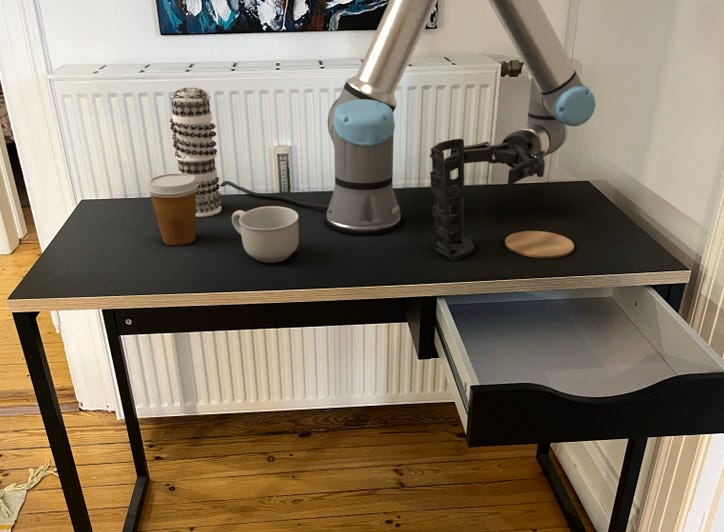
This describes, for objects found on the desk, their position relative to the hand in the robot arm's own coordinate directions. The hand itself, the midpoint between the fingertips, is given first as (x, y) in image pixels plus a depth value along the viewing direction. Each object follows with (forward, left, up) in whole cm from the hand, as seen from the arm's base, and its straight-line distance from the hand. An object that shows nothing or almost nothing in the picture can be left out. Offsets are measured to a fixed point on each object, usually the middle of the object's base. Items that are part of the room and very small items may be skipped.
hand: (477, 171), depth 145 cm
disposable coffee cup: (-46, -35, -13) cm, 59 cm away
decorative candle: (-55, -20, -13) cm, 60 cm away
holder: (0, -9, -13) cm, 16 cm away
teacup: (-27, -31, -13) cm, 43 cm away
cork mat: (+13, +3, -13) cm, 19 cm away
